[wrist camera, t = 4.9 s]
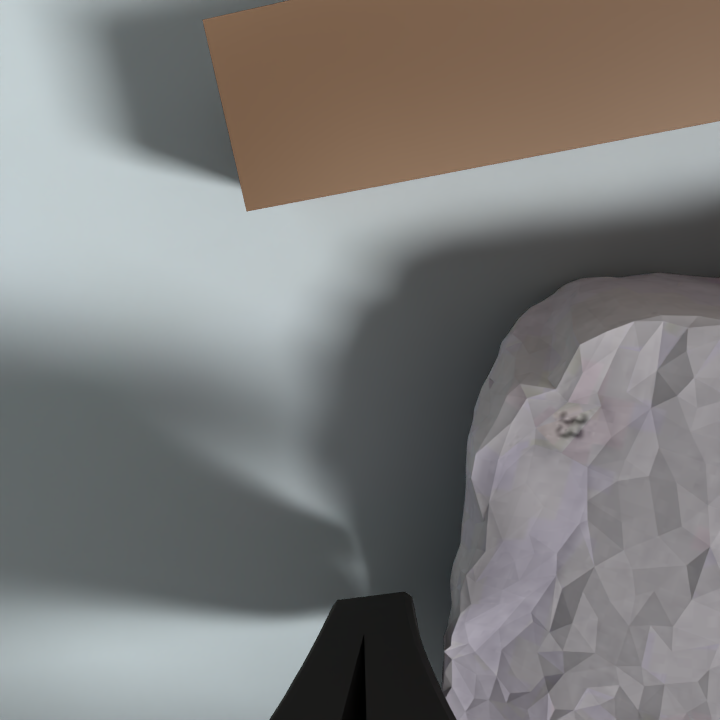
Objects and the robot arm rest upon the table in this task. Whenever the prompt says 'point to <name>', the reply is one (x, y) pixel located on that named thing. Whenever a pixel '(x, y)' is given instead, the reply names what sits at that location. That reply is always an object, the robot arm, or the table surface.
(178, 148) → the table surface
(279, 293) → the table surface
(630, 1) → the dock
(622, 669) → the stone block
